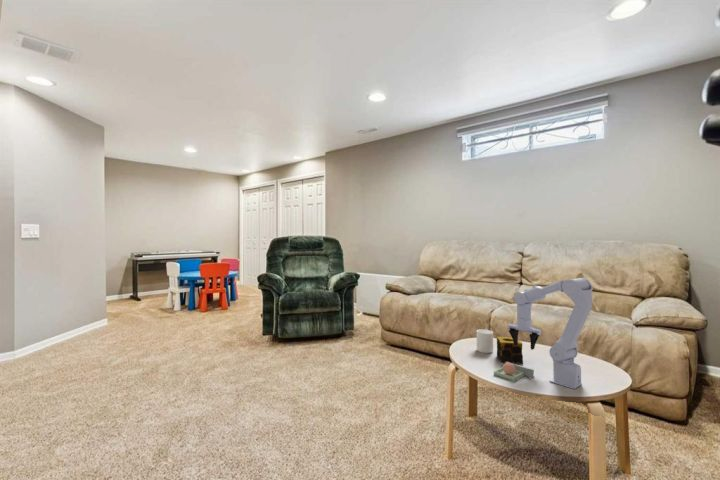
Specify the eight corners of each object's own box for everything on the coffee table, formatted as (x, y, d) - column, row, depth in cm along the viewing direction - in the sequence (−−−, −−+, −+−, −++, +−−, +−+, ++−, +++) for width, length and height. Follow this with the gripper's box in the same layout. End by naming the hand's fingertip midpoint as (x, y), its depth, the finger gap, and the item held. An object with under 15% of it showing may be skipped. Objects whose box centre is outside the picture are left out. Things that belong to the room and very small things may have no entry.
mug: (485, 345, 188) (485, 327, 188) (499, 349, 181) (499, 330, 181) (473, 350, 180) (473, 331, 180) (488, 354, 174) (488, 334, 173)
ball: (517, 374, 147) (517, 363, 147) (511, 378, 144) (511, 366, 144) (506, 370, 151) (506, 359, 151) (500, 373, 148) (500, 362, 147)
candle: (523, 364, 160) (523, 343, 160) (500, 363, 162) (500, 342, 162) (517, 357, 170) (517, 337, 170) (496, 355, 172) (496, 336, 172)
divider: (534, 377, 145) (534, 369, 145) (531, 378, 144) (531, 370, 144) (507, 368, 154) (507, 361, 154) (504, 370, 153) (504, 362, 153)
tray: (524, 375, 147) (524, 372, 147) (514, 381, 141) (514, 377, 141) (504, 369, 154) (504, 366, 154) (493, 374, 148) (493, 371, 148)
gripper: (544, 319, 153) (544, 349, 153) (512, 313, 164) (512, 341, 164) (537, 321, 149) (537, 352, 149) (505, 315, 160) (505, 344, 160)
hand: (524, 347), depth 156 cm, fingers open, 7 cm apart
